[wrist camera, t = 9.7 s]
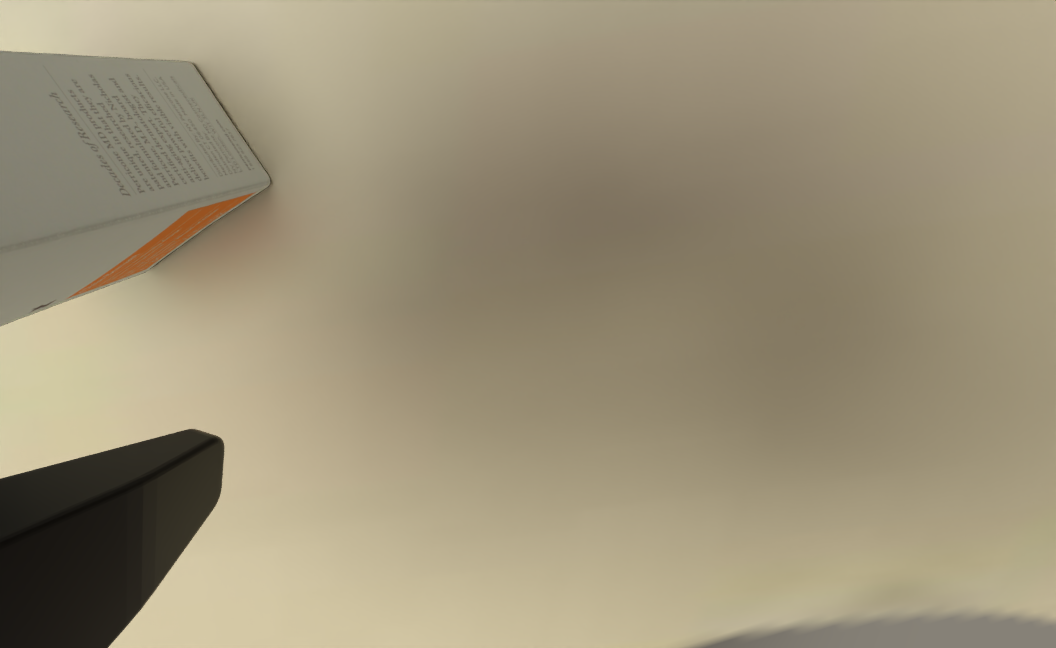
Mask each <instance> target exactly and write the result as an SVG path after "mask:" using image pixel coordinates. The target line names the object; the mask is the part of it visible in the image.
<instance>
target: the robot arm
mask: <svg viewBox="0 0 1056 648" xmlns="http://www.w3.org/2000/svg"><path fill="white" fill-rule="evenodd" d="M223 461H224V443H223V441H222V439H221V438H220V437H218V436H216V435H212V434H209V433H206V432H203V431H200V430H196V429H188V430H184V431H180V432H176V433H173V434H169V435H165V436H161V437H157V438H154V439H150V440H146V441H142V442H138V443H135V444H131V445H127V446H123V447H119V448H116V449H112V450H108V451H104V452H100V453H97V454H93V455H89V456H85V457H81V458H78V459H74V460H70V461H66V462H62V463H59V464H55V465H51V466H47V467H43V468H40V469H36V470H32V471H28V472H24V473H21V474H17V475H13V476H9V477H5V478H2V479H0V648H108V647H109V646H110V645H111V643H112V642H113V641H114V640H115V639H116V638H117V637H118V636H119V634H120V633H121V632H122V631H123V630H124V629H125V628H126V626H127V625H128V624H129V623H130V622H131V620H132V619H133V618H134V617H135V616H136V614H137V613H138V612H139V611H140V610H141V609H142V607H143V606H144V605H145V603H146V602H147V601H148V599H149V598H150V597H151V595H152V594H153V593H154V591H155V590H156V589H157V587H158V586H159V584H160V583H161V582H162V580H163V579H164V577H165V576H166V575H167V573H168V572H169V570H170V569H171V568H172V566H173V565H174V563H175V562H176V561H177V559H178V558H179V556H180V555H181V554H182V552H183V551H184V549H185V548H186V547H187V545H188V544H189V542H190V541H191V540H192V538H193V537H194V535H195V534H196V533H197V531H198V530H199V528H200V527H201V526H202V524H203V523H204V521H205V520H206V519H207V517H208V516H209V514H210V513H211V512H212V510H213V509H214V507H215V506H216V504H217V502H218V499H219V497H220V493H221V488H222V475H223Z"/></svg>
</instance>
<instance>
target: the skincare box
mask: <svg viewBox="0 0 1056 648" xmlns="http://www.w3.org/2000/svg"><path fill="white" fill-rule="evenodd" d="M269 185H270V178H269V175H268V174H267V173H266V171H265V170H264V168H263V167H262V166H261V164H260V163H259V161H258V160H257V158H256V157H255V155H254V154H253V153H252V151H251V150H250V148H249V147H248V145H247V144H246V142H245V141H244V139H243V138H242V136H241V135H240V133H239V132H238V131H237V129H236V128H235V126H234V125H233V123H232V122H231V120H230V119H229V117H228V116H227V114H226V113H225V112H224V110H223V108H222V107H221V105H220V104H219V102H218V101H217V100H216V98H215V96H214V95H213V93H212V92H211V90H210V89H209V87H208V86H207V84H206V83H205V81H204V80H203V79H202V77H201V75H200V74H199V72H198V71H197V69H196V68H195V67H194V65H193V64H191V63H190V62H186V61H172V60H154V59H132V58H117V57H98V56H79V55H65V54H47V53H28V52H11V51H0V326H2V325H5V324H8V323H10V322H13V321H15V320H18V319H20V318H23V317H26V316H29V315H32V314H34V313H37V312H39V311H42V310H45V309H48V308H50V307H52V306H55V305H58V304H60V303H63V302H66V301H69V300H71V299H74V298H77V297H80V296H83V295H85V294H88V293H91V292H94V291H96V290H99V289H102V288H104V287H107V286H110V285H112V284H115V283H118V282H120V281H123V280H126V279H129V278H131V277H134V276H137V275H140V274H142V273H145V272H147V271H148V270H149V269H151V268H152V267H153V266H154V265H155V264H157V263H158V262H159V261H161V260H162V259H163V258H165V257H166V256H167V255H169V254H170V253H172V252H173V251H174V250H176V249H177V248H179V247H180V246H181V245H183V244H184V243H186V242H187V241H188V240H190V239H191V238H192V237H194V236H195V235H197V234H198V233H199V232H201V231H202V230H203V229H205V228H206V227H208V226H209V225H211V224H212V223H214V222H215V221H217V220H218V219H220V218H221V217H223V216H224V215H226V214H227V213H229V212H230V211H232V210H233V209H235V208H236V207H238V206H239V205H241V204H242V203H244V202H245V201H247V200H248V199H250V198H251V197H253V196H254V195H256V194H257V193H259V192H261V191H262V190H264V189H265V188H266V187H268V186H269Z"/></svg>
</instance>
